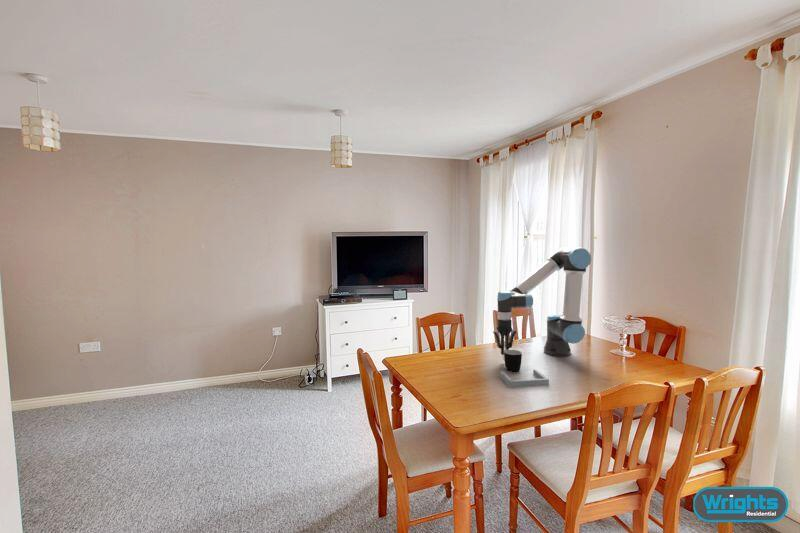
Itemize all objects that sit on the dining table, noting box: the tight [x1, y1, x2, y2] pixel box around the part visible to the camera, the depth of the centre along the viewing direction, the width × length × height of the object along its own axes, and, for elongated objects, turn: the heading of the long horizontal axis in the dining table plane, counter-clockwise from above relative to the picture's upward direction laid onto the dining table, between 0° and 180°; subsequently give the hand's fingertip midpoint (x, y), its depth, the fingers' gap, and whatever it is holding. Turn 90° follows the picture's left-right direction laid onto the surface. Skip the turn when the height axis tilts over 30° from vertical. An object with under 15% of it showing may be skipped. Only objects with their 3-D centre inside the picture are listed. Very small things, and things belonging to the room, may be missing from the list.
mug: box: [504, 349, 523, 373], centre depth 204 cm, size 12×9×10 cm
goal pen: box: [499, 368, 550, 389], centre depth 188 cm, size 14×19×3 cm
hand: (504, 360), depth 214 cm, fingers closed
